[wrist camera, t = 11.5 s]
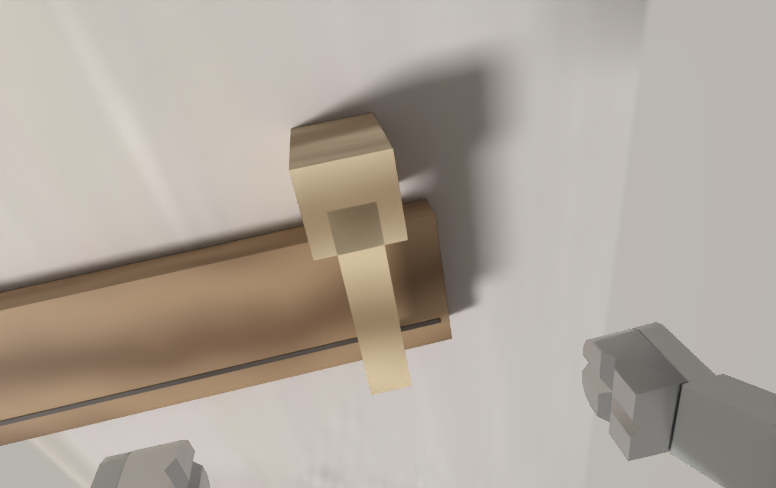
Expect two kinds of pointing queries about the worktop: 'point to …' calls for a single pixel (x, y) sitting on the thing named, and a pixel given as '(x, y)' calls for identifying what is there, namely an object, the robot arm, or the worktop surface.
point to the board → (197, 326)
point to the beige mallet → (356, 229)
